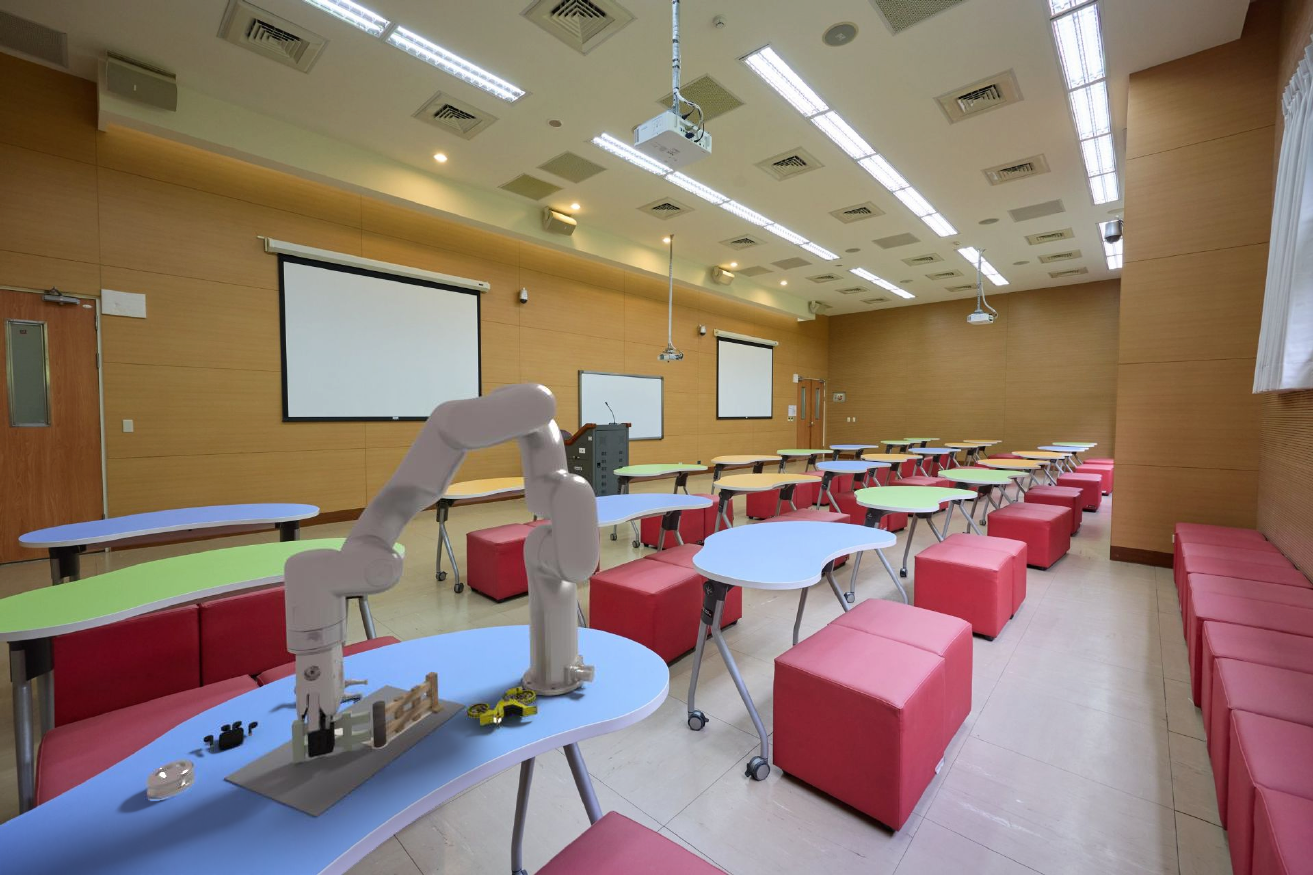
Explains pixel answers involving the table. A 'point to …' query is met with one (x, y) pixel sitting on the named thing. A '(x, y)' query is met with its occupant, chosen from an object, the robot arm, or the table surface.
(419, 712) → the fence fixed section
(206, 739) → the wireless earbuds
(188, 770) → the grooved metal pulley
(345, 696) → the soldier figure
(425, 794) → the table surface
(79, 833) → the table surface
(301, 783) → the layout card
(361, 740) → the fence swing section
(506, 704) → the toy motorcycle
